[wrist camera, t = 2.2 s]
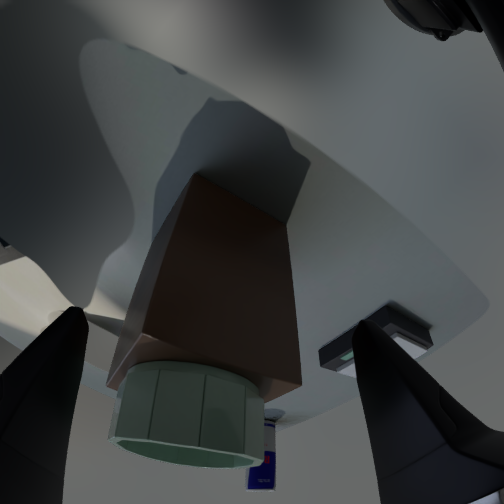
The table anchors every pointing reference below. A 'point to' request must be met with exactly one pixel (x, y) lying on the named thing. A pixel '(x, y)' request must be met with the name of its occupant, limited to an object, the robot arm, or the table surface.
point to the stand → (215, 294)
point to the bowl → (189, 416)
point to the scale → (393, 324)
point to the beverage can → (264, 464)
